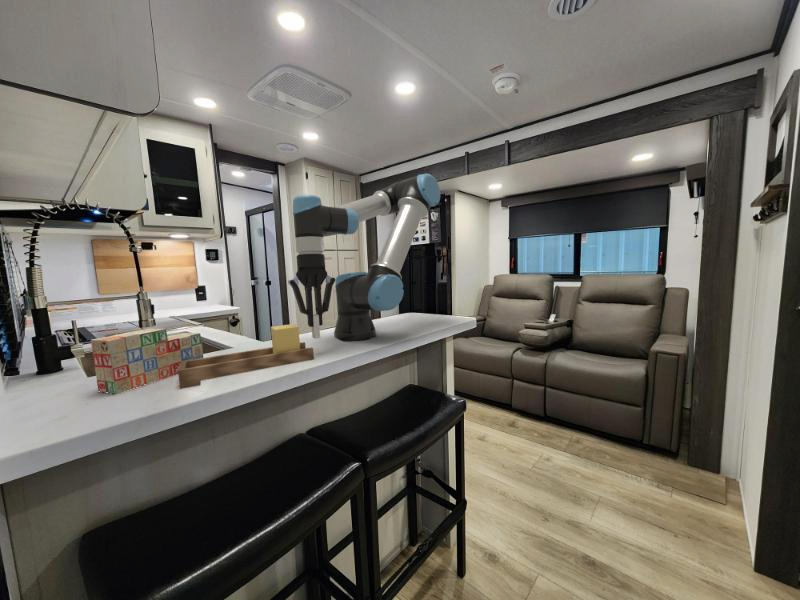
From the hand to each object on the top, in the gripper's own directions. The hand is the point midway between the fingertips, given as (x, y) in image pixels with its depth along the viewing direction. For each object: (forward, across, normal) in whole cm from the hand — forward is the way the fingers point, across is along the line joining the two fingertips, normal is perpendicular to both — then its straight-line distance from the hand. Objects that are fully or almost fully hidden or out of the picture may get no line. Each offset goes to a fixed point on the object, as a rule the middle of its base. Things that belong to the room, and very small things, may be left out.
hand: (316, 337), depth 91 cm
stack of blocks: (+6, +38, -9) cm, 40 cm away
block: (+5, +8, 0) cm, 10 cm away
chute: (+6, +17, 0) cm, 18 cm away
